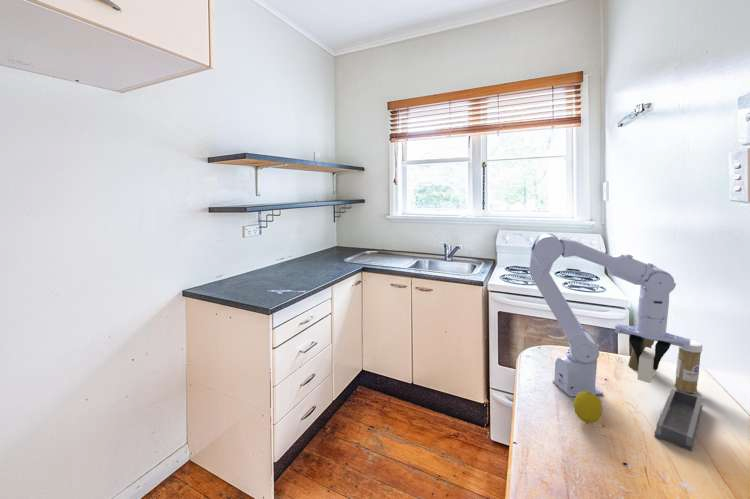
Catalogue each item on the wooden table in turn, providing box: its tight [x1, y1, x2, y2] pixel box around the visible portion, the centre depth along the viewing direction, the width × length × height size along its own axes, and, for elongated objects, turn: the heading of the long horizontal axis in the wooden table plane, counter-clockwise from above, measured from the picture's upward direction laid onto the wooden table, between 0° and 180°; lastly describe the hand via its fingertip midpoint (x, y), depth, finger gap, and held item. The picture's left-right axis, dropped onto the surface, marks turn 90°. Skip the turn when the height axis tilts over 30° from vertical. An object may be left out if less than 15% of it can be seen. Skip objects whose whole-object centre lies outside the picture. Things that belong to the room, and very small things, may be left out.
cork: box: [627, 339, 655, 372], centre depth 101 cm, size 6×6×11 cm
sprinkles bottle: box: [674, 339, 703, 394], centre depth 89 cm, size 5×5×13 cm
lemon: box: [573, 391, 603, 424], centre depth 77 cm, size 6×6×8 cm
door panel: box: [636, 347, 657, 384], centre depth 85 cm, size 8×2×6 cm, turn 132°
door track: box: [653, 388, 703, 452], centre depth 77 cm, size 20×6×3 cm, turn 131°
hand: (647, 366), depth 85 cm, fingers closed on door panel, 2 cm apart
